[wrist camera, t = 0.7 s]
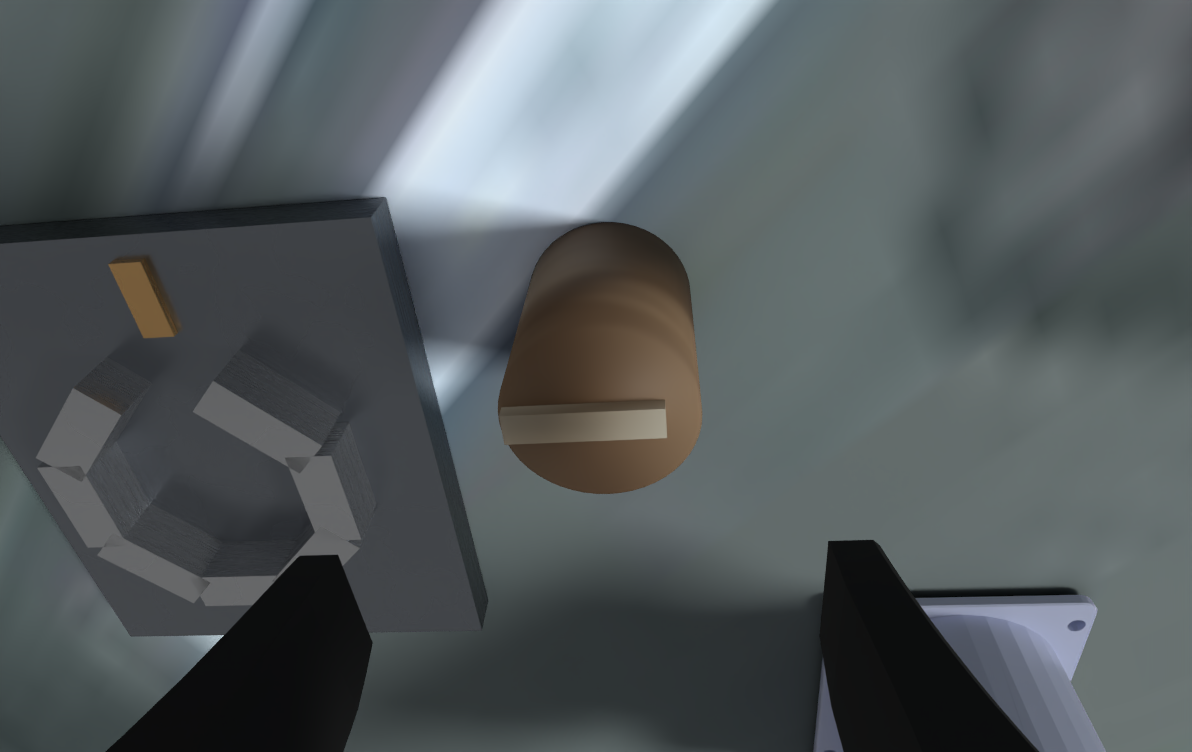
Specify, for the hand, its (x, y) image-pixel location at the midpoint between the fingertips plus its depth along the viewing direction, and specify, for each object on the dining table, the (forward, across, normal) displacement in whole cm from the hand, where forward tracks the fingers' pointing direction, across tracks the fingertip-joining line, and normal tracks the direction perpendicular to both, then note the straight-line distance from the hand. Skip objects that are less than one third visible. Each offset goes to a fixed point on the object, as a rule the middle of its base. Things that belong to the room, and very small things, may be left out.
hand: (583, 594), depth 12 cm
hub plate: (+9, +11, +4) cm, 15 cm away
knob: (+9, 0, 0) cm, 9 cm away
